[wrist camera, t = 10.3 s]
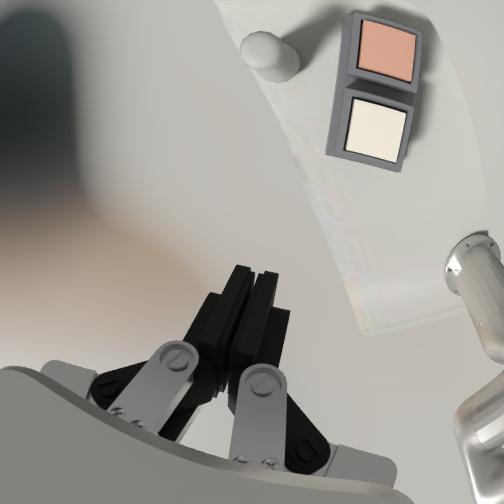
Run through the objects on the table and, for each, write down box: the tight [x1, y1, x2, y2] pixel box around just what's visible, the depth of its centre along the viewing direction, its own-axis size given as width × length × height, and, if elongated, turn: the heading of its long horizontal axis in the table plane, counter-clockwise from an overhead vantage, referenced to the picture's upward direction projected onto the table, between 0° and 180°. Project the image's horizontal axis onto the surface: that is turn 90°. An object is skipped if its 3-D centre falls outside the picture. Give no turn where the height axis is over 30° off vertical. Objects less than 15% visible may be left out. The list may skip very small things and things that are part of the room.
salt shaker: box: [240, 31, 300, 83], centre depth 26 cm, size 6×6×13 cm
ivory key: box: [344, 99, 406, 163], centre depth 28 cm, size 6×6×4 cm
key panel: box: [326, 12, 423, 173], centre depth 27 cm, size 20×10×7 cm, turn 175°
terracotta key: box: [356, 20, 416, 82], centre depth 22 cm, size 6×6×4 cm
